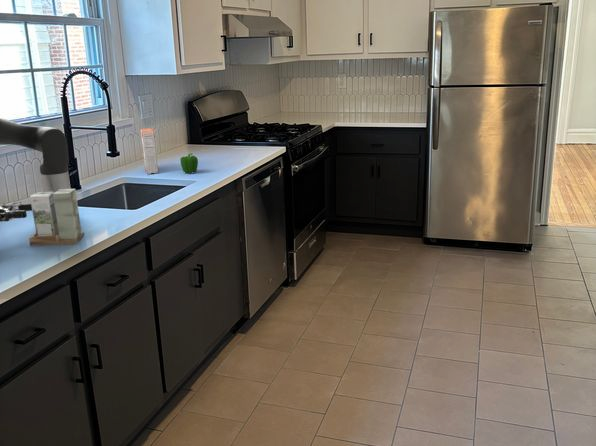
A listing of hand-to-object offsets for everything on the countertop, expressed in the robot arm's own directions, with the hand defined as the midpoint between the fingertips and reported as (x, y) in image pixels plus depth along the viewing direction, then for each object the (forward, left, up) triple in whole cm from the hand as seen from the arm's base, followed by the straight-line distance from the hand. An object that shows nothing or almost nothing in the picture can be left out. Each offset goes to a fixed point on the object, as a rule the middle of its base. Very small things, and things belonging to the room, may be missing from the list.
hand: (30, 210), depth 185 cm
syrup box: (0, +4, -9) cm, 10 cm away
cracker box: (-107, +16, -11) cm, 109 cm away
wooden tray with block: (0, +7, -10) cm, 13 cm away
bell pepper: (-101, +36, -11) cm, 108 cm away
